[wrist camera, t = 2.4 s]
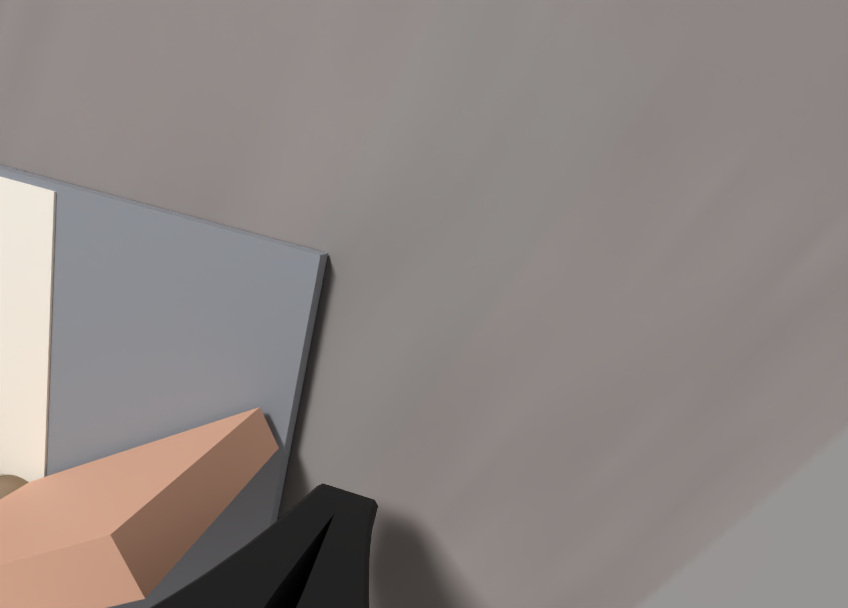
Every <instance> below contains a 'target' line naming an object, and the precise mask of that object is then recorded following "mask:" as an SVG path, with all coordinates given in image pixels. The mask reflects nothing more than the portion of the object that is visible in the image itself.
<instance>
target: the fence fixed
mask: <svg viewBox="0 0 848 608" xmlns="http://www.w3.org/2000/svg"><path fill="white" fill-rule="evenodd" d="M27 483H29V482H28V481H26V480H25V479H23V478H21V477H18V476H15V475H2V476H0V499H2V498H3V497H5V496H7V495H8V494H10V493H12V492H14V491H15V490H17V489H19V488H20V487H22V486H24V485H26V484H27Z"/></svg>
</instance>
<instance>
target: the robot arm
mask: <svg viewBox="0 0 848 608" xmlns="http://www.w3.org/2000/svg"><path fill="white" fill-rule="evenodd" d="M377 508H378V505H377V503H376V501H375V500H373V499H370V498H367V497H364V496H361V495H358V494H354V493H351V492H348V491H345V490H342V489H339V488H336V487H332V486H329V485H326V484H321V485H319V486H317V487H316V488H315V489H314V490H312V491H311V492H310V493H309V494H308V495H307V496H306V497H305V498H304V499H302V500H301V501H300V502H299V503H298V504H297V505H296V506H294V507H293V508H292V509H291V510H290V511H288V512H287V513H286V514H285V515H284V516H282V517H281V518H280V519H279V520H277V521H276V522H275V523H274V524H272V525H271V526H270V527H268V528H267V529H266V530H265V531H263V532H262V533H261V534H259V535H258V536H257V537H256V538H254V539H253V540H252V541H250V542H249V543H248V544H246V545H245V546H244V547H242V548H241V549H239V550H238V551H237V552H235V553H234V554H232V555H231V556H229V557H228V558H227V559H225V560H224V561H222V562H221V563H219V564H218V565H216V566H215V567H214V568H212V569H211V570H209V571H208V572H206V573H205V574H203V575H202V576H200V577H199V578H197V579H196V580H194V581H193V582H191V583H189V584H188V585H186V586H185V587H183V588H182V589H180V590H178V591H177V592H175V593H174V594H172V595H170V596H169V597H167V598H165V599H163V600H162V601H160V602H158V603H157V604H155V605H153V606H152V607H150V608H369V555H370V543H371V533H372V528H373V524H374V520H375V516H376V512H377Z"/></svg>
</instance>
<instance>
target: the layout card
mask: <svg viewBox="0 0 848 608" xmlns="http://www.w3.org/2000/svg"><path fill="white" fill-rule="evenodd" d="M327 256H328V253H325V252H321V251H317V250H314V249H310V248H306V247H302V246H299V245H295V244H291V243H288V242H284V241H280V240H277V239H273V238H269V237H265V236H262V235H258V234H254V233H251V232H247V231H243V230H240V229H236V228H232V227H228V226H225V225H221V224H217V223H214V222H210V221H206V220H203V219H199V218H195V217H191V216H188V215H184V214H180V213H177V212H173V211H169V210H165V209H162V208H158V207H154V206H151V205H147V204H143V203H140V202H136V201H132V200H128V199H125V198H121V197H117V196H114V195H110V194H106V193H103V192H99V191H95V190H91V189H88V188H84V187H80V186H77V185H73V184H69V183H65V182H62V181H58V180H54V179H51V178H47V177H43V176H40V175H36V174H32V173H28V172H25V171H21V170H17V169H14V168H10V167H6V166H3V165H0V476H2V475H15V476H18V477H21V478H23V479H25V480H26V481H28V482H31V481H34V480H37V479H40V478H43V477H46V476H49V475H52V474H55V473H58V472H61V471H65V470H68V469H71V468H74V467H77V466H80V465H83V464H86V463H89V462H92V461H95V460H98V459H101V458H105V457H108V456H111V455H114V454H117V453H120V452H123V451H126V450H129V449H132V448H135V447H138V446H141V445H145V444H148V443H151V442H154V441H157V440H160V439H163V438H166V437H169V436H172V435H175V434H178V433H182V432H185V431H188V430H191V429H194V428H197V427H200V426H203V425H206V424H209V423H212V422H215V421H218V420H222V419H225V418H228V417H231V416H234V415H237V414H240V413H243V412H246V411H249V410H252V409H255V408H258V407H260V408H261V411H262V413H263V415H264V417H265V419H266V421H267V424H268V426H269V428H270V430H271V432H272V434H273V437H274V439H275V441H276V443H277V445H278V447H279V448H278V449H277V451H276V452H275V453H274V454H273V455H272V456H271V457H270V459H269V460H268V461H267V462H266V463H265V464H264V465H263V466H262V468H261V469H260V470H259V471H258V472H257V473H256V474H255V475H254V477H253V478H252V479H251V480H250V481H249V482H248V483H247V484H246V486H245V487H244V488H243V489H242V490H241V491H240V492H239V493H238V495H237V496H236V497H235V498H234V499H233V500H232V501H231V502H230V504H229V505H228V506H227V507H226V508H225V509H224V510H223V511H222V513H221V514H220V515H219V516H218V517H217V518H216V519H215V520H214V522H213V523H212V524H211V525H210V526H209V527H208V528H207V530H206V531H205V532H204V533H203V534H202V535H201V536H200V537H199V539H198V540H197V541H196V542H195V543H194V544H193V545H192V546H191V548H190V549H189V550H188V551H187V552H186V553H185V554H184V555H183V557H182V558H181V559H180V560H179V561H178V562H177V563H176V564H175V566H174V567H173V568H172V569H171V570H170V571H169V572H168V573H167V575H166V576H165V577H164V578H163V579H162V580H161V581H160V582H159V584H158V585H157V586H156V587H155V588H154V589H153V590H152V592H151V593H150V594H149V595H148V596H147V597H146V598H145V599H142V600H137V601H133V602H129V603H124V604H120V605H116V606H111V607H107V608H150V607H152V606H153V605H155V604H157V603H158V602H160V601H162V600H163V599H165V598H167V597H169V596H170V595H172V594H174V593H175V592H177V591H178V590H180V589H182V588H183V587H185V586H186V585H188V584H189V583H191V582H193V581H194V580H196V579H197V578H199V577H200V576H202V575H203V574H205V573H206V572H208V571H209V570H211V569H212V568H214V567H215V566H216V565H218V564H219V563H221V562H222V561H224V560H225V559H227V558H228V557H229V556H231V555H232V554H234V553H235V552H237V551H238V550H239V549H241V548H242V547H244V546H245V545H246V544H248V543H249V542H250V541H252V540H253V539H254V538H256V537H257V536H258V535H259V534H261V533H262V532H263V531H265V530H266V529H267V528H268V527H270V526H271V525H272V524H274V523H275V522H276V521H277V517H278V512H279V507H280V502H281V497H282V491H283V486H284V481H285V476H286V470H287V465H288V460H289V455H290V449H291V444H292V439H293V434H294V428H295V423H296V418H297V413H298V408H299V402H300V397H301V392H302V387H303V381H304V376H305V371H306V366H307V360H308V355H309V350H310V345H311V340H312V334H313V329H314V324H315V319H316V313H317V308H318V303H319V298H320V292H321V287H322V282H323V277H324V271H325V266H326V261H327Z"/></svg>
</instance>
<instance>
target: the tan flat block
mask: <svg viewBox="0 0 848 608" xmlns="http://www.w3.org/2000/svg"><path fill="white" fill-rule="evenodd" d="M278 448H279V447H278V445H277V443H276V441H275V439H274V437H273V434H272V432H271V430H270V428H269V426H268V424H267V421H266V419H265V417H264V415H263V413H262V411H261V408H260V407H258V408H255V409H252V410H249V411H246V412H243V413H240V414H237V415H234V416H231V417H228V418H225V419H222V420H218V421H215V422H212V423H209V424H206V425H203V426H200V427H197V428H194V429H191V430H188V431H185V432H182V433H178V434H175V435H172V436H169V437H166V438H163V439H160V440H157V441H154V442H151V443H148V444H145V445H141V446H138V447H135V448H132V449H129V450H126V451H123V452H120V453H117V454H114V455H111V456H108V457H105V458H101V459H98V460H95V461H92V462H89V463H86V464H83V465H80V466H77V467H74V468H71V469H68V470H65V471H61V472H58V473H55V474H52V475H49V476H46V477H43V478H40V479H37V480H34V481H31V482H29V483H27V484H26V485H24V486H22V487H20V488H19V489H17V490H15V491H14V492H12V493H10V494H8V495H7V496H5V497H3V498H2V499H0V608H107V607H111V606H116V605H120V604H124V603H129V602H133V601H137V600H142V599H145V598H146V597H147V596H148V595H149V594H150V593H151V592H152V590H153V589H154V588H155V587H156V586H157V585H158V584H159V582H160V581H161V580H162V579H163V578H164V577H165V576H166V575H167V573H168V572H169V571H170V570H171V569H172V568H173V567H174V566H175V564H176V563H177V562H178V561H179V560H180V559H181V558H182V557H183V555H184V554H185V553H186V552H187V551H188V550H189V549H190V548H191V546H192V545H193V544H194V543H195V542H196V541H197V540H198V539H199V537H200V536H201V535H202V534H203V533H204V532H205V531H206V530H207V528H208V527H209V526H210V525H211V524H212V523H213V522H214V520H215V519H216V518H217V517H218V516H219V515H220V514H221V513H222V511H223V510H224V509H225V508H226V507H227V506H228V505H229V504H230V502H231V501H232V500H233V499H234V498H235V497H236V496H237V495H238V493H239V492H240V491H241V490H242V489H243V488H244V487H245V486H246V484H247V483H248V482H249V481H250V480H251V479H252V478H253V477H254V475H255V474H256V473H257V472H258V471H259V470H260V469H261V468H262V466H263V465H264V464H265V463H266V462H267V461H268V460H269V459H270V457H271V456H272V455H273V454H274V453H275V452H276V451H277V449H278Z"/></svg>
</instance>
